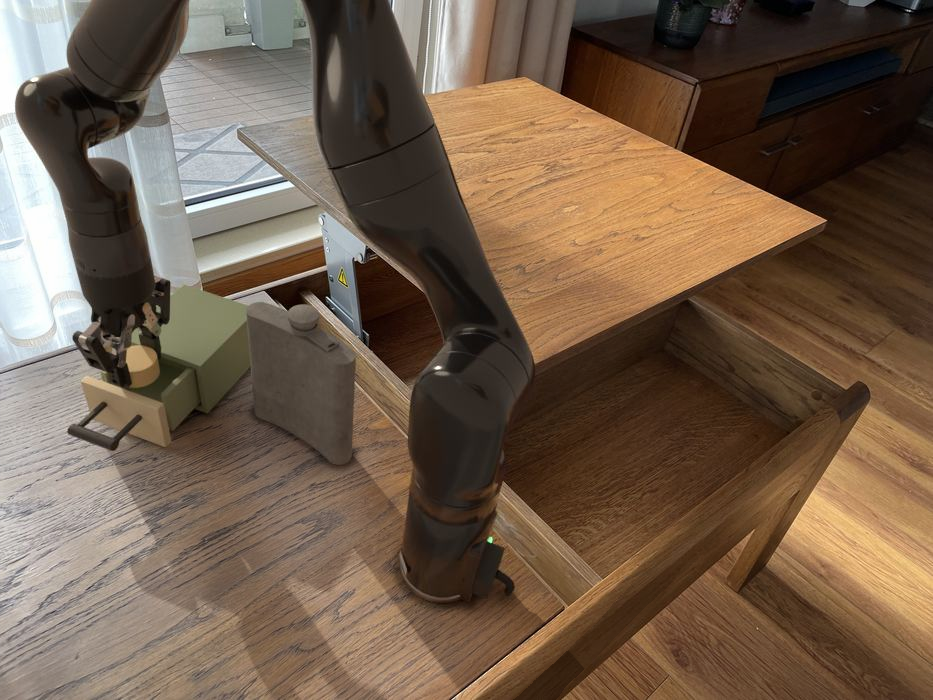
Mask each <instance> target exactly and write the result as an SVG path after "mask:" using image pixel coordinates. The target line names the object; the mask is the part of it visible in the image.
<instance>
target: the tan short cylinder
mask: <svg viewBox="0 0 933 700" xmlns="http://www.w3.org/2000/svg"><path fill="white" fill-rule="evenodd" d="M114 355H116V353H115V354H114ZM126 363H127V364H128V368H129V373H130V377H131V381H132V385H130V386H129V387H131V388H138V387H143V386H147V385H149V384H151V383H153V382H154V381H155V380H156V379H157V378H158V376H159V374H160V368H159V363H158V358H157V354H156V352H155V351H154V350H153V349H152V348H149V347H146V346H141V345H136V346H131V347H130V348H128V349H127V355H126Z"/></svg>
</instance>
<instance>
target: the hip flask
mask: <svg viewBox="0 0 933 700" xmlns="http://www.w3.org/2000/svg"><path fill="white" fill-rule="evenodd" d="M246 316H247V328H248V340H249V351H250V363H251V367H250V373H251V374H250V375H251V385H252V397H253V408H254V409H253V410H254V414H255V417H257V418H258V419H261V420H263V421H265V422H268V423H271V424H273V425H275V426H276V427H279V428H281V429H283V430H285V431H287V432H289V433H290V434H292V435H294V436H295V437H296V438H299V439H300V440H302V441H303V442H305V443H306V444H308V445H309V446H311V447H312V448H313V449H315V450H316V451H317V452H318V453H320V454H321V455H322V456H323V457H324V458H325V459H326V460H327V461H328V462H330V463H331V464H333V465H335V466H342V465H346V464H348V463H349V462H351V460H352V457H353V439H354V438H353V436H354V435H353V434H354V412H355V409H354V408H355V389H356V387H355V386H356V365H357V364H356V363H357V354H356V352H355V350H354V349H353V348H351V347H350V346H349V345H347V344H346V343H345V342H343V341H342V340H341V339H340V338H338V337H337V336H335V335H334V334H332V333H331V332H329V331H327V330H326V329H324V328H322V327H320V326H319V325H318V324H319V321H320V312H319V310H318V308H316V307H315V306H313V305H311V304H304V303H303V304H302V303H301V304H297V305H294V306H292V307H290V308H289V310H287V309H285V308H282V307H279V306H276V305H273V304H271V303H268V302H264V301H256V302H252V303H250V304H248V307H247V309H246Z"/></svg>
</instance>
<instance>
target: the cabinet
mask: <svg viewBox="0 0 933 700" xmlns="http://www.w3.org/2000/svg"><path fill="white" fill-rule="evenodd" d="M248 306H249V304H244V303H241V302H239V301H236V300H232V299H229V298H227V297H224V296H220V295H217V294H214V293H211V292H209V291H205V290H202V289H200V288H197V287H193V286H190V285H187V284H182V285H181V286H180V287H178V288H177V289H176V290H175V291H174V292H173V293H170V320H169V322H168V324H166V325H165V324H163V325H162V326H161V333H160V335H159V339H160V344H161V357H163V358H166V359H169V360H172V361H175V362H178V363H180V364H183V365H186V366H189V367H192V368H195V369H196V372H197V379H198V385H199V392H200V398H201V402H200V403H199V404H198V405H197V406H196V407H195V408H194V409H193V410H197V411H199V412H202V413H204V414H209V413H210V412H211V411H212V409H214V407H215V406H216V405H217V404H218V403H219V402H220V401H221V399H223V397H224V396H225V395H226V394H227V393H228V392H229V391H230V390H231V389H232V388H233V387H234V385H235V384H236V383H237V382H238V381H239V380H240V379H241V378H242V377H243V375H245V373H246V372H248V371H249V369H251V363H250V351H249V340H248V328H247V316H246V309H247V307H248ZM160 310H161V309H160V307H159V306H157V305H156V312H159V313H160ZM141 332H142V331H139V330H138V328H136V329H135V330H134V331H133V333H132V339H131V346H136V345H141V344H140V339H139V334H140V333H141ZM118 339H121V337H118Z"/></svg>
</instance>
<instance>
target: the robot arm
mask: <svg viewBox="0 0 933 700" xmlns="http://www.w3.org/2000/svg"><path fill="white" fill-rule="evenodd" d="M190 1H191V0H90V2H89V3H88V5H87V6H86V8H85V10H84V11H83V13H82V15H81V16H80V18H79V20H78V21H77V23H76V25H75V27H74V28H73V30H72V32H71V34H70V36H69V39H68V41H67V44H66V49H65V50H66V53H65V54H66V55H65V56H66V61H67V65H68V66H67V67H64V68H61V69H58V70H54V71H51V72H47V73H44V74H40V75H37V76H34V77H31V78H29V79H27V80H25V81H24V82H23V83H22V84H21V85H20V86H19V88H18V89H17V92H16V95H15V99H14V112H15V117H16V120H17V123H18V126H19V127H20V129H21V131H22V133H23V134H24V136H25V138H26V139H27V141H28V142H29V144H30V146H31V147H32V148H33V150H34V151H35V153H36V155H37V157H38V158H39V159H40V161H41V163H42V165H43V166H44V168H45V170H46V172H47V173H48V176H49V177H50V178H51V180H52V182H53V184H54V186H55V187H56V189H57V192H58V195H59V200H60V202H61V206H62V210H63V215H64V218H65V222H66V226H67V234H68V235H67V236H68V243H69V247H70V252H71V256H72V260H73V263H74V266H75V270H76V275H77V278H78V281H79V285H80V291H81V293H82V296H83V297H84V300H86V302H87V303H88V305H89V306H90V308H91V315H90V322H91V324H90V325H89V326H88V327H87V328H86V329H85V330H84V331H83V332H82V331H80V330H76V331H75V332H73V334H72V336H71V337H72V341H73V342H74V345H75V346H76V347H77V349H78V351H79V352H80V354H81V355H82V357H83V358H84V360H85V362H86V363H87V364H88V366H89V367H91V368H93V369H97V370H99V371H104V372H107V373H108V375H109V379H110V382H111V383H112V384H114V385H117V386H120V387H123V388H128V387H129V386H130V385H132V381H131V377H130V373H129V368H128V364H127V363H126V355H127V349H128V348H130V347H131V339H132V333H133V331H134V330H135V329H136V328H138V330H139V331H142V332H141V333H140V334H139V339H140V344H141V346H146V347H149V348H152V349H153V350H154V351H155V352H156V354H157V358H158V360H159V359H160V358H161V344H160V339H159V335H160V333H161V326H162V325H163V324H165V325H166V324H168V322H169V320H170V295H171V284H172V283H171V281H170V280H168V279H166V278H163V277H161V276H158V275H155V273H154V267H153V262H152V256H151V251H150V245H149V241H148V235H147V231H146V229H145V226H144V223H143V220H142V215H141V210H140V204H139V200H138V194H137V189H136V185H135V180H134V177H133V175H132V172H131V171H130V169H129V167H128V166H126V164H124V163H123V162H121V161H119V160H118V159H115V158H109V157H98V156H95V157H89V151H88V150H89V149H91V148H93V147H96V146H99V145H101V144H104V143H106V142H109V141H111V140H115V139H116V138H119V137H121V136H123V135H125V134H127V133H128V132H130V131H131V130H132V129H133V128H135V127H136V125H138V124H139V123H140V121H141V120H142V118H143V117H144V114H145V111H146V107H147V104H148V100H149V97H150V94H151V88H152V87H153V86H154V84H155V83H156V82H158V80H159V78H160V77H161V76H162V75H163V73H164V72H165V71H166V69H167V68H168V67H169V66H170V65H171V63H172V62H173V61H174V59H175V58H176V56H177V55H178V53H179V52H180V49H181V48H182V46H183V44H184V42H185V39H186V37H187V33H188V29H189V28H188V27H189V22H190ZM299 1H300V4H301V7H302V11H303V13H304V16H305V21H306V25H307V31H308V37H309V44H310V45H309V46H310V62H311V64H310V65H311V67H310V69H311V70H310V71H311V72H310V73H311V74H310V75H311V79H310V80H311V82H310V83H311V107H312V108H311V110H312V121H313V123H312V124H313V129H314V136H315V141H316V146H317V148H318V152H319V155H320V157H321V159H322V163H323V164H324V167H325V168H326V171H327V173H328V175H329V177H330V179H331V182H332V184H333V186H334V189H335V191H336V194H337V195H338V197H339V199H340V202H341V203H342V206H343V208H344V210H345V212H346V214H347V216H348V217H349V219H350V221H351V223H352V224H353V226H354V227H355V228H356V229H357V231H358V232H359V233H360V235H362V236H363V237H364V238H365V239H366V240H367V242H369V243H370V244H371V245H372V246H374V247H375V248H376V249H377V250H378V251H379V252H381V253H382V254H383V255H385V256H386V257H387V258H388V259H389V260H391V261H392V262H394V263H395V264H396V265H397V266H399V267H400V268H401V269H402V270H404V271H405V272H406V273H407V274H408V275H410V277H411V278H413V279H414V281H415V282H416V283H417V284H418V287H420V289H421V290H422V292H423V293H424V295H425V297H426V299H427V302H428V303H429V305H430V307H431V310H432V312H433V314H434V316H435V319H436V322H437V324H438V327H439V330H440V333H441V338H442V346H441V347H440V349H438V351H437V352H436V353H435V354H434V356H432V358H431V359H430V361H428V363H427V364H426V365H425V367H424V368H423V369H422V370H421V371H420V373H418V375H417V377H416V379H415V381H414V383H413V386H412V390H411V394H410V398H409V399H410V400H409V410H408V411H409V412H408V426H407V427H408V429H407V452H408V455H409V459H410V461H411V463H412V466H411V475H410V482H409V489H408V497H407V498H408V499H407V508H406V515H405V521H404V522H405V523H404V530H403V538H402V545H401V546H402V547H401V550H399V571H400V576H401V578H402V581H403V584H405V586H406V587H407V589H408V590H409V591H411V592H412V593H413V594H414V595H415V596H416V597H418V598H421V599H422V600H425V601H427V602H432V603H436V604H447V603H453V602H457V601H462V602H466V603H469V602H470V601H471V599H472V596H473V595H476V596H478V597H481V598H484V599H486V600H488V599H489V596H490V594H491V591H492V588H493V586H494V583H495V579H496V580H498V581H500V582H501V583H503V584H504V585H505V587H504V589H503V594H504V595H506V596H508V597H509V596H511V595H512V594H513V592H514V591H515V588H516V587H515V582H514V580H513V579H512V578H511V577H510V576H509V575H507V574H505V573H504V572H503V571H501V570H500V565H501V563H502V560H503V555H504V553H505V549H506V547H505V546H501V545H499V544H497V543H493V537H492V535H493V531H494V527H495V523H496V521H497V520H496V519H497V515H498V511H497V506H498V502H499V498H500V494H501V490H502V487H503V482H504V480H505V479H504V478H505V475H506V470H507V461H508V460H507V454H506V451H505V448H504V445H505V442H506V439H507V436H508V433H509V431H510V428H511V427H512V425H513V424H514V422H515V420H516V418H518V416H519V414H520V412H521V411H522V409H523V407H524V405H526V402H527V400H528V399H529V397H530V395H531V393H532V390H533V389H534V385H535V381H536V373H537V372H536V371H537V370H536V363H535V359H534V355H533V353H532V350H531V348H530V346H529V343H528V341H527V339H526V336H525V334H524V333H523V329H522V328H521V326H520V324H519V322H518V321H517V319H516V317H515V315H514V312H513V310H512V309H511V306H510V305H509V303H508V301H507V299H506V297H505V295H504V293H503V291H502V290H501V287H500V285H499V284H498V281H497V279H496V277H495V275H494V272H493V270H492V269H491V266H490V264H489V261H488V259H487V256H486V254H485V251H484V249H483V246H482V243H481V241H480V237H479V235H478V233H477V230H476V228H475V225H474V223H473V221H472V218H471V215H470V213H469V210H468V208H467V205H466V204H465V203H466V202H465V201H464V198H463V195H462V193H461V189H460V187H459V184H458V182H457V178H456V176H455V173H454V172H455V171H454V169H453V166H452V163H451V161H450V158H449V155H448V153H447V149H446V148H445V144H444V142H443V138H442V136H441V134H440V132H439V129H438V127H437V124H436V122H435V118H434V115H433V114H432V110H431V109H430V106H429V104H428V102H427V100H426V97H425V94H424V92H423V90H422V88H421V84H420V82H419V80H418V77H417V74H416V71H415V69H414V66H413V63H412V60H411V57H410V54H409V51H408V48H407V46H406V43H405V41H404V38H403V35H402V32H401V30H400V27H399V24H398V21H397V18H396V15H395V13H394V11H393V8H392V5H391V2H390V0H299ZM157 306H159V307H160V309H161V310H160V313H159V312H156V307H157ZM119 337H121V339H119ZM113 349H115V354H116V355H115V354H114V353H113Z"/></svg>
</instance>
